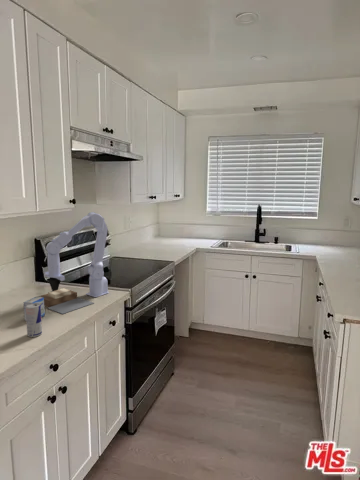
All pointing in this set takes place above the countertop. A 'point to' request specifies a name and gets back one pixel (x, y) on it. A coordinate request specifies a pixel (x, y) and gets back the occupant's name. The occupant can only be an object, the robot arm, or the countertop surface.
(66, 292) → the birch tile
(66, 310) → the slate mat
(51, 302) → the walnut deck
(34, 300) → the medicine box
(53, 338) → the countertop surface
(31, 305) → the energy drink
